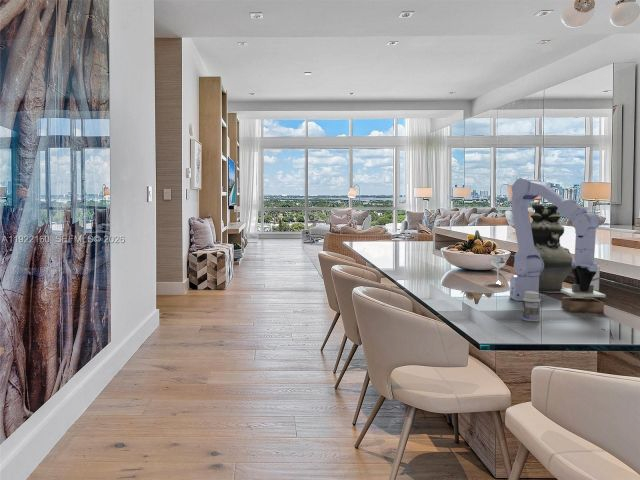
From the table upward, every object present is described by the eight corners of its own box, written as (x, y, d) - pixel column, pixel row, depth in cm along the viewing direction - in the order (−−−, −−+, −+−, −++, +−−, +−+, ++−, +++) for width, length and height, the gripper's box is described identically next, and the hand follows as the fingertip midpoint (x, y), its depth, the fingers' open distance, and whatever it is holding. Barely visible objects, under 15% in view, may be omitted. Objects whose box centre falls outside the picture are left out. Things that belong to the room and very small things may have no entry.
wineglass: (486, 281, 225) (487, 255, 224) (499, 281, 227) (500, 255, 226) (496, 284, 219) (497, 256, 218) (509, 283, 221) (510, 256, 220)
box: (571, 312, 162) (571, 301, 162) (561, 307, 170) (561, 297, 169) (603, 312, 161) (604, 302, 161) (592, 307, 169) (592, 297, 169)
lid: (571, 296, 161) (571, 286, 161) (560, 291, 170) (561, 282, 170) (605, 297, 160) (606, 287, 160) (593, 292, 169) (593, 282, 169)
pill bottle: (525, 317, 153) (526, 290, 153) (541, 319, 151) (542, 292, 150) (520, 320, 150) (521, 292, 149) (536, 322, 147) (537, 294, 146)
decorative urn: (528, 285, 221) (529, 205, 219) (579, 290, 206) (581, 204, 204) (507, 289, 205) (508, 204, 204) (561, 295, 191) (563, 203, 189)
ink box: (599, 297, 190) (600, 266, 189) (584, 296, 192) (585, 265, 191) (594, 293, 198) (595, 263, 197) (580, 292, 200) (581, 263, 199)
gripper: (608, 251, 156) (606, 294, 157) (587, 247, 171) (585, 287, 172) (585, 251, 157) (582, 294, 158) (566, 247, 171) (564, 286, 172)
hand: (582, 290), depth 165 cm, fingers closed on lid, 2 cm apart
